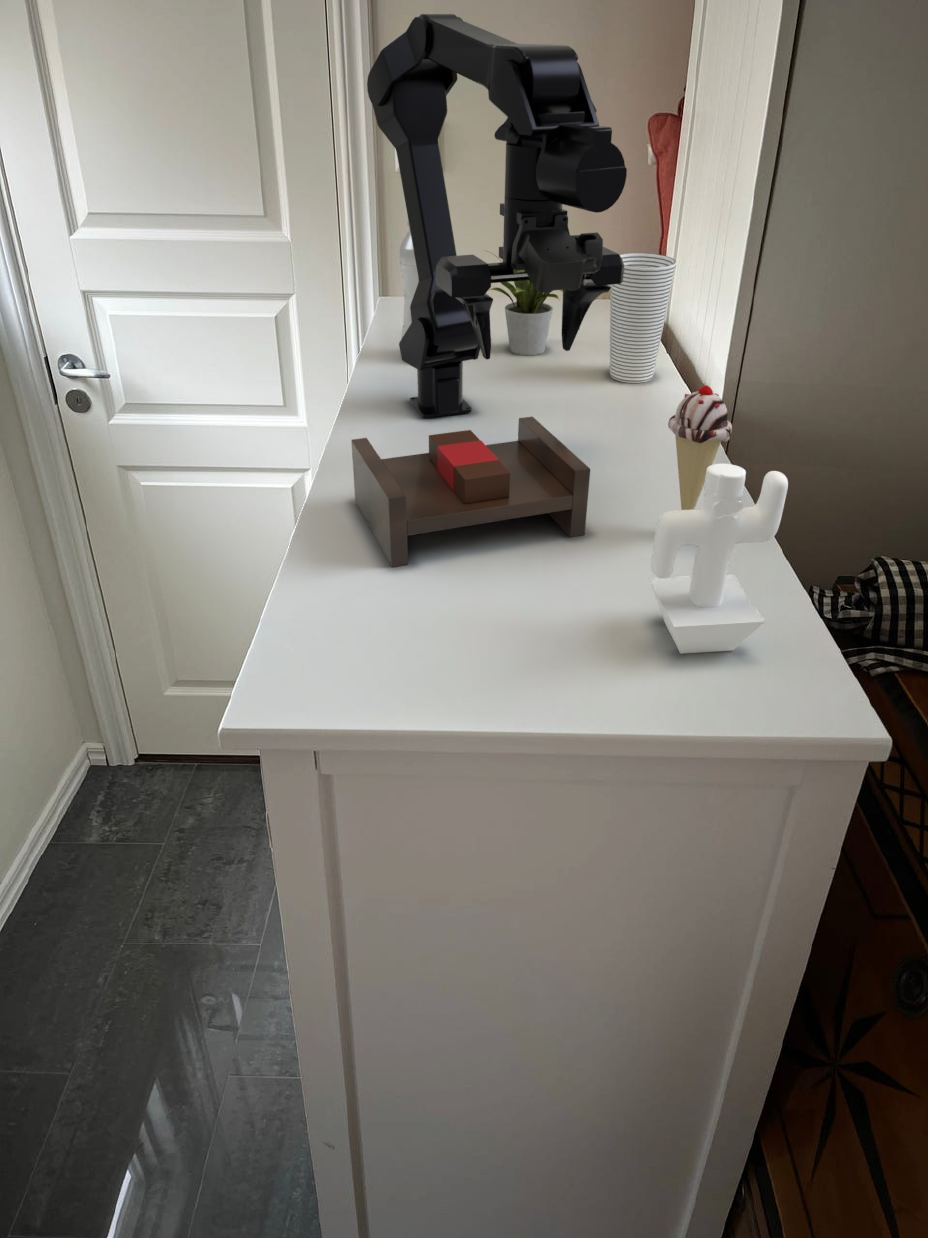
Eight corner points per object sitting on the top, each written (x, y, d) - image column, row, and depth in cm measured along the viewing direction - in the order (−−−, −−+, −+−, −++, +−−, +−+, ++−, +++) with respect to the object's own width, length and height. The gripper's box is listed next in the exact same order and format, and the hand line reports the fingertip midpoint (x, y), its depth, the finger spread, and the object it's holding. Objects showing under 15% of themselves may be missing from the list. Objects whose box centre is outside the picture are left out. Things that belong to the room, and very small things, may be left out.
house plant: (599, 346, 141) (609, 231, 132) (557, 371, 131) (564, 249, 122) (517, 331, 147) (521, 220, 138) (471, 353, 137) (472, 236, 128)
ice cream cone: (713, 551, 88) (740, 398, 80) (652, 544, 89) (673, 393, 81) (712, 523, 93) (737, 377, 85) (654, 518, 94) (674, 372, 86)
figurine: (630, 615, 79) (651, 450, 71) (738, 609, 80) (771, 446, 71) (654, 666, 73) (679, 492, 65) (770, 659, 74) (809, 486, 65)
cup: (614, 362, 134) (625, 249, 126) (670, 372, 131) (685, 257, 122) (590, 379, 128) (600, 262, 120) (649, 390, 125) (663, 270, 116)
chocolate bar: (428, 458, 95) (428, 434, 93) (470, 452, 96) (471, 428, 95) (463, 504, 86) (464, 478, 85) (509, 497, 87) (510, 472, 86)
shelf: (355, 502, 96) (351, 439, 93) (529, 477, 102) (532, 416, 98) (391, 567, 85) (388, 498, 82) (584, 534, 91) (590, 468, 87)
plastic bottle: (452, 352, 138) (452, 207, 127) (436, 367, 132) (434, 216, 121) (411, 348, 140) (408, 204, 128) (394, 362, 134) (389, 213, 123)
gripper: (471, 216, 82) (470, 388, 91) (658, 204, 87) (640, 368, 96) (433, 195, 91) (435, 354, 99) (605, 186, 96) (593, 337, 104)
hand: (526, 354), depth 99 cm, fingers open, 9 cm apart
